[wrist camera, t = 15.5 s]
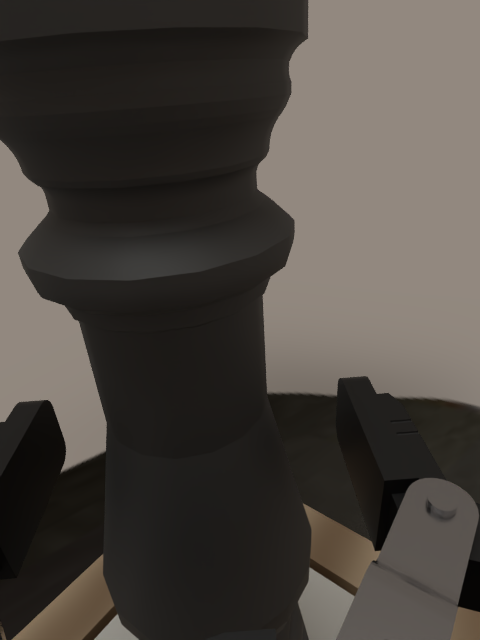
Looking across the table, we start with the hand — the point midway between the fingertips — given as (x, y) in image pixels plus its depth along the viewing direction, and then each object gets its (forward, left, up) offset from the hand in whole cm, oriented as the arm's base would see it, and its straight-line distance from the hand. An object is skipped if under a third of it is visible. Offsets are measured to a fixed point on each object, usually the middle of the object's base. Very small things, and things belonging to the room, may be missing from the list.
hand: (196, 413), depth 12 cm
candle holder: (+1, -1, -13) cm, 13 cm away
